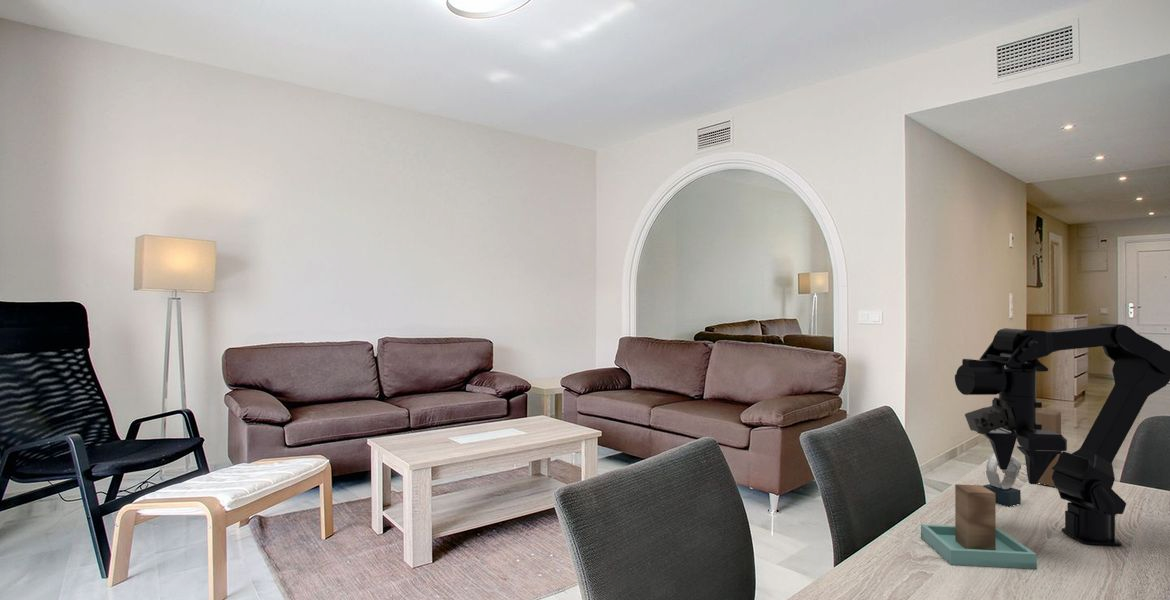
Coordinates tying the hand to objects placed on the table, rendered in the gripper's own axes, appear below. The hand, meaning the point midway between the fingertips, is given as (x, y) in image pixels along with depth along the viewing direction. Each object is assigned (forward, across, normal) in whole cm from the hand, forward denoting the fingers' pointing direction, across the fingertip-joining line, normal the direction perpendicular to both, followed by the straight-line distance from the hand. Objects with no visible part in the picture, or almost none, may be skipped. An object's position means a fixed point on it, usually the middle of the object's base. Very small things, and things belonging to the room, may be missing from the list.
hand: (1017, 476), depth 111 cm
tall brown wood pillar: (+11, +7, -11) cm, 17 cm away
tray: (+12, +7, -11) cm, 18 cm away
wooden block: (+12, -35, +29) cm, 47 cm away
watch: (+12, -22, +9) cm, 27 cm away
